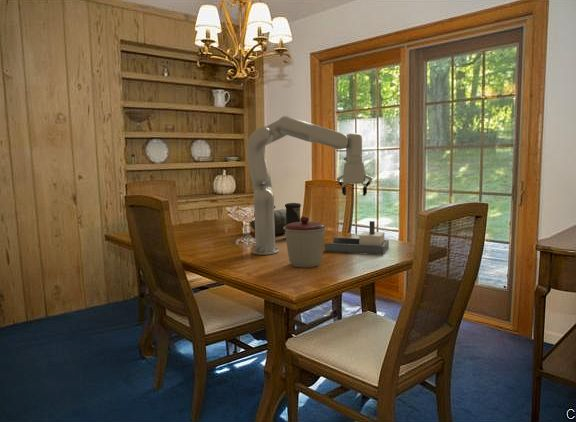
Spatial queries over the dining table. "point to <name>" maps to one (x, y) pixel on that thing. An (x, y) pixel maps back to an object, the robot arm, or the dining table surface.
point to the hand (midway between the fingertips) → (354, 195)
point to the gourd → (277, 221)
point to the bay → (355, 246)
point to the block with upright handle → (371, 236)
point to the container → (292, 212)
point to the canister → (305, 242)
